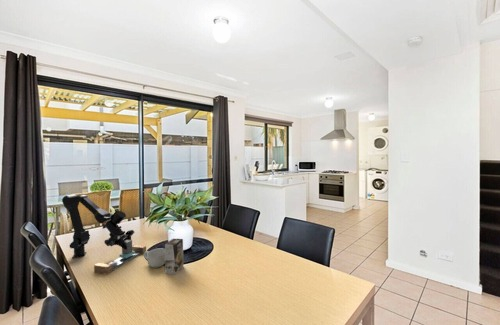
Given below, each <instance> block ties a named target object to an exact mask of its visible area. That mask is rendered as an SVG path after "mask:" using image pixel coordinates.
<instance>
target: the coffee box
mask: <svg viewBox="0 0 500 325" xmlns="http://www.w3.org/2000/svg"><path fill="white" fill-rule="evenodd" d="M164 249H165V264H164V267H165V269H164V270H165V274H170V275H177V273H178V272H180V271H181V270H182V269H183V268H184V238H172V239H171V240H169V241H167V242H165V244H164Z"/></svg>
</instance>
